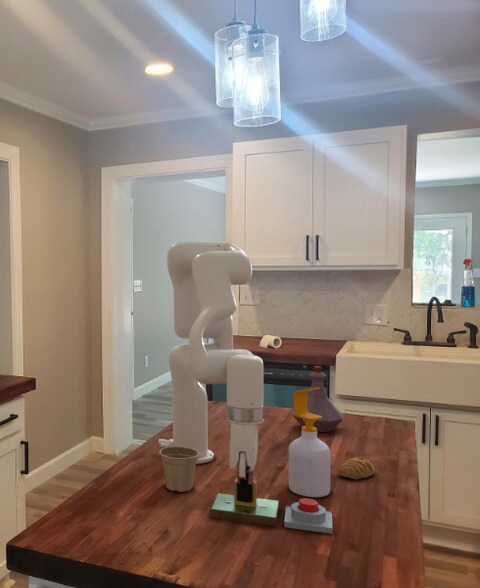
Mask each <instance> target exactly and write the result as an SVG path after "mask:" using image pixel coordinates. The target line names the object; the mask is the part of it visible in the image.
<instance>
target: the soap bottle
mask: <svg viewBox="0 0 480 588" xmlns="http://www.w3.org/2000/svg"><path fill="white" fill-rule="evenodd" d="M315 389H320V387H317V388H311V387H310V388H305V389H299V390H298V389H297V390H296V391H294V393H293V411H294V414H295V416H297V417H300V418H303V421H304V422H305V426H303V427H302V426H301V436H300V437H298V438H295V439H294V440H293V441H292V442H290V444H289V446H288V488H289V490H290V491H291V492H292V493H294V494H296V495H299V496H302V497H305V498H323V497H326V496H328V495H330V492H331V450H330V447H329V445H327V443H325V441H323V440H321V439H319V438H318V431H317V428H316V427H313V422H316V419H322V416H319V415H316V414H312V413H309V412H308V410H307V397H308V394H309V392H310V390H315Z"/></svg>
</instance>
